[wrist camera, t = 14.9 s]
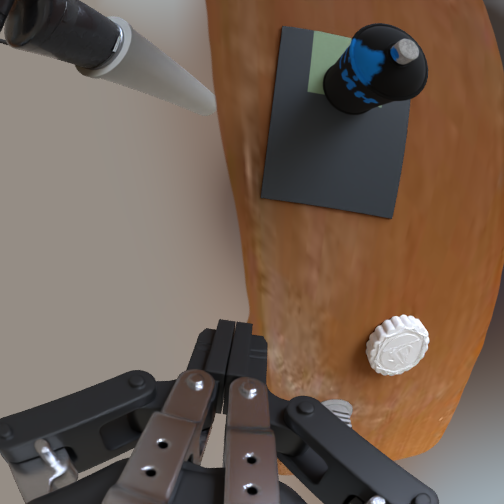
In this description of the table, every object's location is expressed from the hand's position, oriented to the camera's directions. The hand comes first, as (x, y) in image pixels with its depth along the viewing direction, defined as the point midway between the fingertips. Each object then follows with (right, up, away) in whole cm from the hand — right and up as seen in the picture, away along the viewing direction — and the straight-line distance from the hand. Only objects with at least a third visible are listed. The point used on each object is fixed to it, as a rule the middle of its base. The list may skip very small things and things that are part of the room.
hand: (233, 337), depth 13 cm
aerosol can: (+15, +27, +23) cm, 38 cm away
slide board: (+14, +22, +25) cm, 36 cm away
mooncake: (+27, -13, +37) cm, 48 cm away
